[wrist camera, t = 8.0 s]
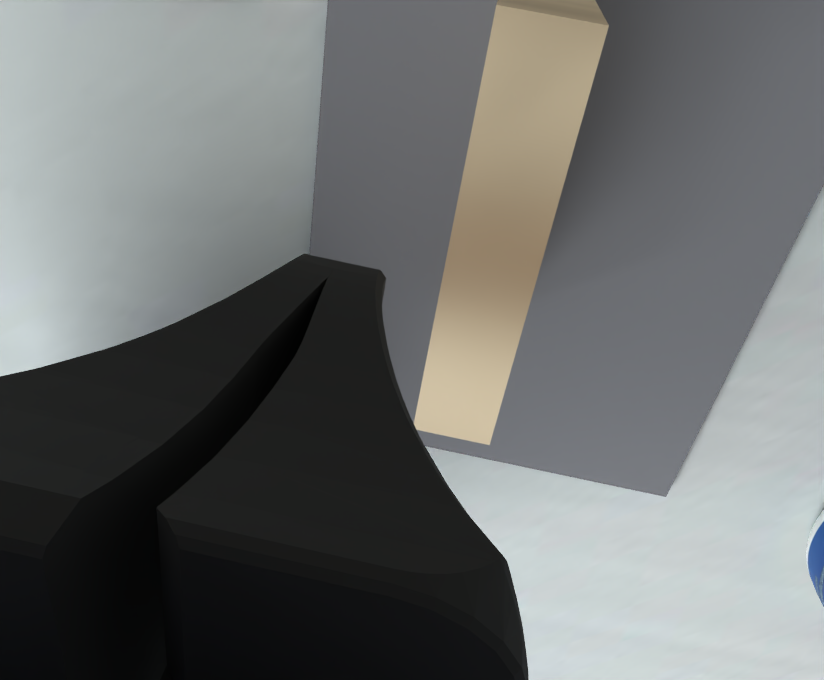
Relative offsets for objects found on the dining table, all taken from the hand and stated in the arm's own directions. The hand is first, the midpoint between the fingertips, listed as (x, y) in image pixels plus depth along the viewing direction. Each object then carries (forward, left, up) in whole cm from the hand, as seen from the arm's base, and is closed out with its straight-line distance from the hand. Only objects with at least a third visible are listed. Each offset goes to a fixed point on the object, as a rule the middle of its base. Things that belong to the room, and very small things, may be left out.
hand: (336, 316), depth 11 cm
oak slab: (0, -2, -9) cm, 9 cm away
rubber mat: (-1, -4, -9) cm, 10 cm away
